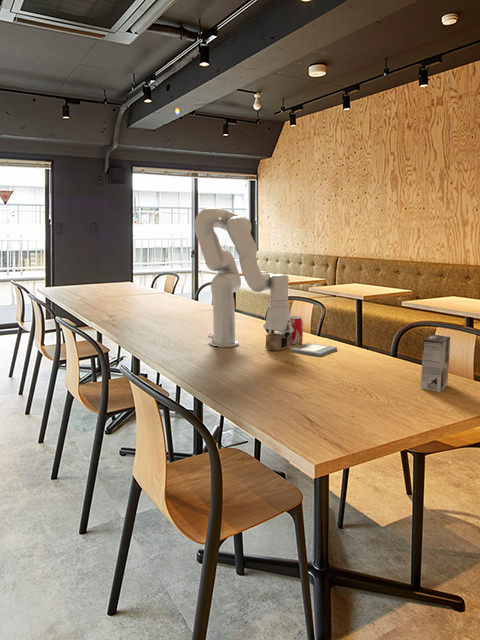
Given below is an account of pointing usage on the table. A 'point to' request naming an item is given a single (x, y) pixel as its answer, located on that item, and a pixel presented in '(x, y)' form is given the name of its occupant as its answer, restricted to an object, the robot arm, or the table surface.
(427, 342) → the coffee box
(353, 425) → the table surface
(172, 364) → the table surface
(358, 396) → the table surface
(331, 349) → the grey flat square slab
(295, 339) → the soda can
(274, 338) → the walnut block
